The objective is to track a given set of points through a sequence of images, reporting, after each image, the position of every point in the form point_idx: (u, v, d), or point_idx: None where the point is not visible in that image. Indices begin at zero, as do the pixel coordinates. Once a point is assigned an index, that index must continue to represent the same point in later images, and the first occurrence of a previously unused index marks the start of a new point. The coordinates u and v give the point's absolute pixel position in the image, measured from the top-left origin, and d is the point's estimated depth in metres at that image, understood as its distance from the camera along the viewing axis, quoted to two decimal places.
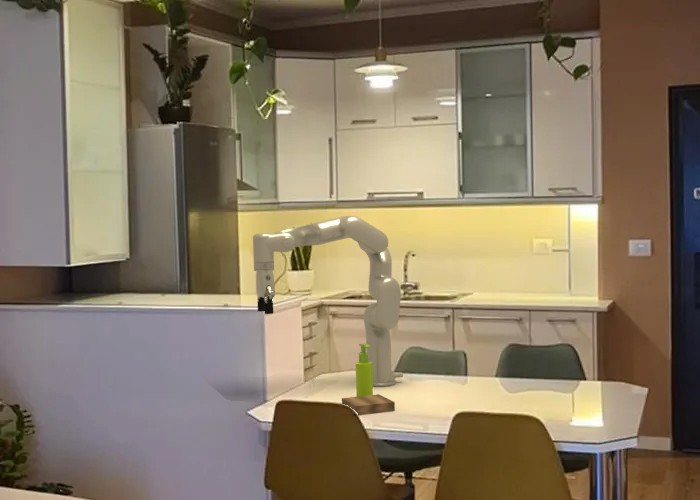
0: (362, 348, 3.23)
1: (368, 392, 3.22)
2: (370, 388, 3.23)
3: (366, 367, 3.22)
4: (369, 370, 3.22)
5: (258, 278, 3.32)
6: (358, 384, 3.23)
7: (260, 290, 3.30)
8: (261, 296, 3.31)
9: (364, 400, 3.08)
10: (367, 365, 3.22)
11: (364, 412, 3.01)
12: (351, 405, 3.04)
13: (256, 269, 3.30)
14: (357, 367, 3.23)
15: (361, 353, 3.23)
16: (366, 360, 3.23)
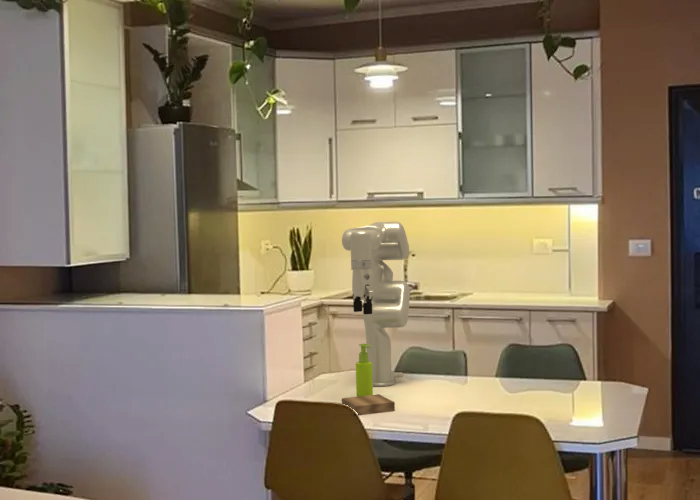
0: (362, 348, 3.23)
1: (368, 392, 3.22)
2: (370, 388, 3.23)
3: (366, 367, 3.22)
4: (369, 370, 3.22)
5: (356, 277, 3.20)
6: (358, 384, 3.23)
7: (358, 290, 3.19)
8: (359, 296, 3.19)
9: (364, 400, 3.08)
10: (367, 365, 3.22)
11: (364, 412, 3.01)
12: (351, 405, 3.04)
13: (354, 268, 3.19)
14: (357, 367, 3.23)
15: (361, 353, 3.23)
16: (366, 360, 3.23)
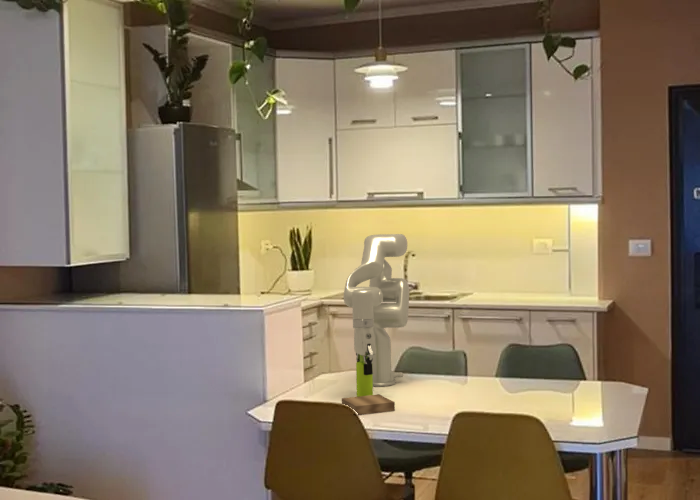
0: None
1: (368, 392, 3.22)
2: (370, 388, 3.23)
3: None
4: None
5: (358, 336, 3.22)
6: (358, 384, 3.22)
7: (360, 348, 3.21)
8: (361, 354, 3.21)
9: (364, 400, 3.08)
10: None
11: (364, 412, 3.01)
12: (351, 405, 3.04)
13: (356, 327, 3.20)
14: (358, 367, 3.22)
15: None
16: None
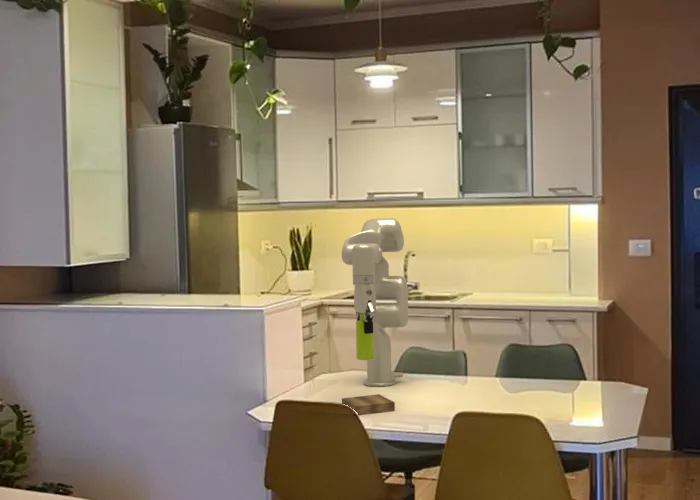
0: None
1: (368, 351, 3.09)
2: (371, 347, 3.10)
3: None
4: None
5: (358, 293, 3.09)
6: (358, 343, 3.10)
7: (360, 306, 3.08)
8: (361, 312, 3.08)
9: (364, 400, 3.08)
10: None
11: (364, 412, 3.01)
12: (351, 405, 3.04)
13: (356, 283, 3.08)
14: (357, 325, 3.09)
15: None
16: None
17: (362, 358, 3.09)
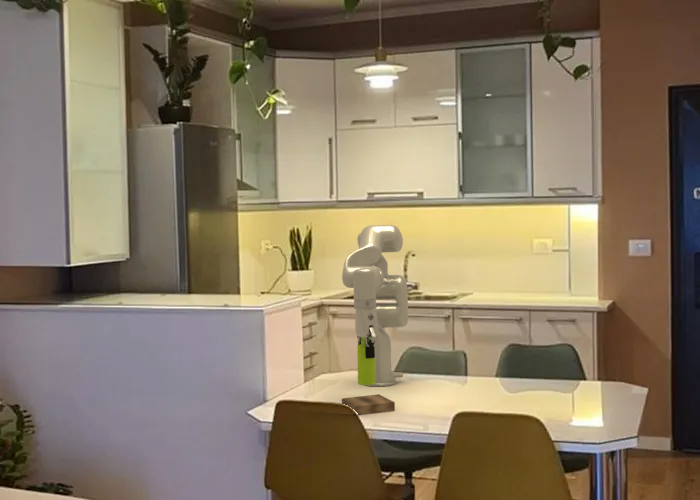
0: None
1: (370, 376, 3.06)
2: (372, 372, 3.06)
3: None
4: None
5: (359, 317, 3.05)
6: (360, 368, 3.06)
7: (362, 330, 3.04)
8: (363, 337, 3.04)
9: (364, 400, 3.08)
10: None
11: (364, 412, 3.01)
12: (351, 405, 3.04)
13: (357, 307, 3.04)
14: (359, 350, 3.06)
15: None
16: None
17: (363, 383, 3.06)
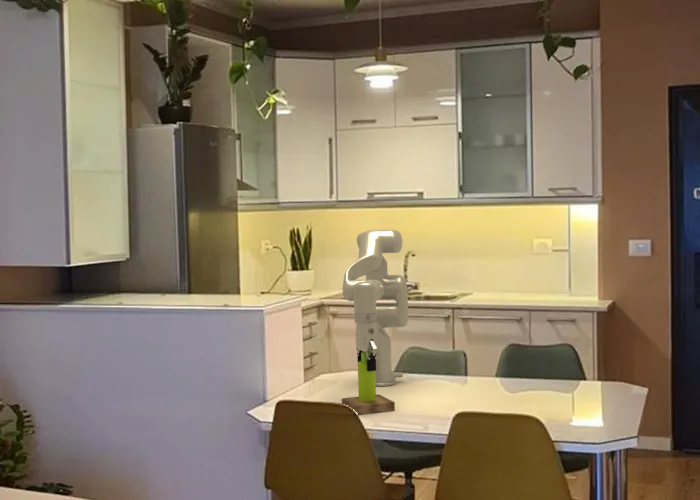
0: None
1: (370, 393, 3.06)
2: (373, 389, 3.07)
3: None
4: None
5: (359, 331, 3.06)
6: (360, 384, 3.07)
7: (362, 344, 3.05)
8: (363, 351, 3.05)
9: None
10: None
11: (364, 412, 3.01)
12: (351, 405, 3.04)
13: (358, 321, 3.04)
14: (359, 367, 3.07)
15: (363, 352, 3.07)
16: None
17: (364, 400, 3.06)
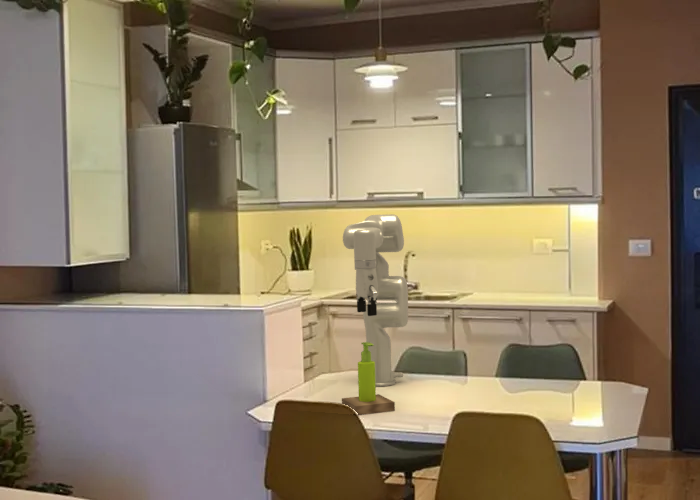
0: (364, 347, 3.07)
1: (370, 393, 3.06)
2: (373, 389, 3.07)
3: (369, 367, 3.05)
4: (372, 370, 3.06)
5: (359, 277, 3.10)
6: (360, 384, 3.07)
7: (362, 290, 3.09)
8: (363, 297, 3.09)
9: None
10: (370, 364, 3.06)
11: (364, 412, 3.01)
12: (351, 405, 3.04)
13: (358, 268, 3.09)
14: (359, 367, 3.07)
15: (363, 352, 3.07)
16: (369, 359, 3.07)
17: (364, 400, 3.06)
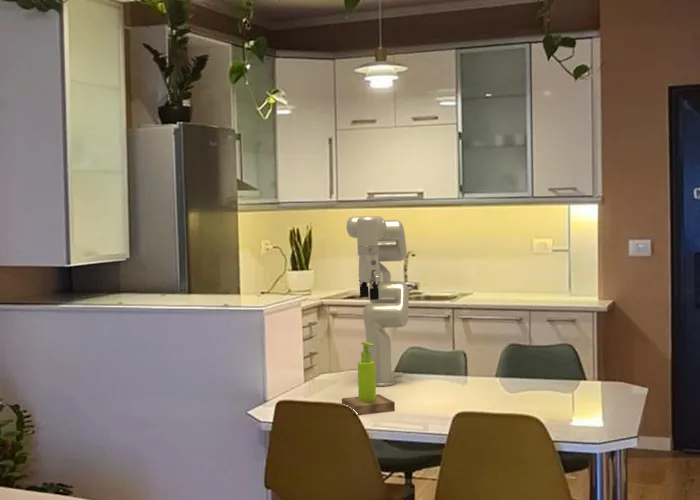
0: (364, 347, 3.07)
1: (370, 393, 3.06)
2: (373, 389, 3.07)
3: (369, 367, 3.05)
4: (372, 370, 3.06)
5: (362, 263, 3.22)
6: (360, 384, 3.07)
7: (365, 275, 3.21)
8: (366, 281, 3.21)
9: None
10: (370, 364, 3.06)
11: (364, 412, 3.01)
12: (351, 405, 3.04)
13: (361, 253, 3.21)
14: (359, 367, 3.07)
15: (363, 352, 3.07)
16: (369, 359, 3.07)
17: (364, 400, 3.06)
